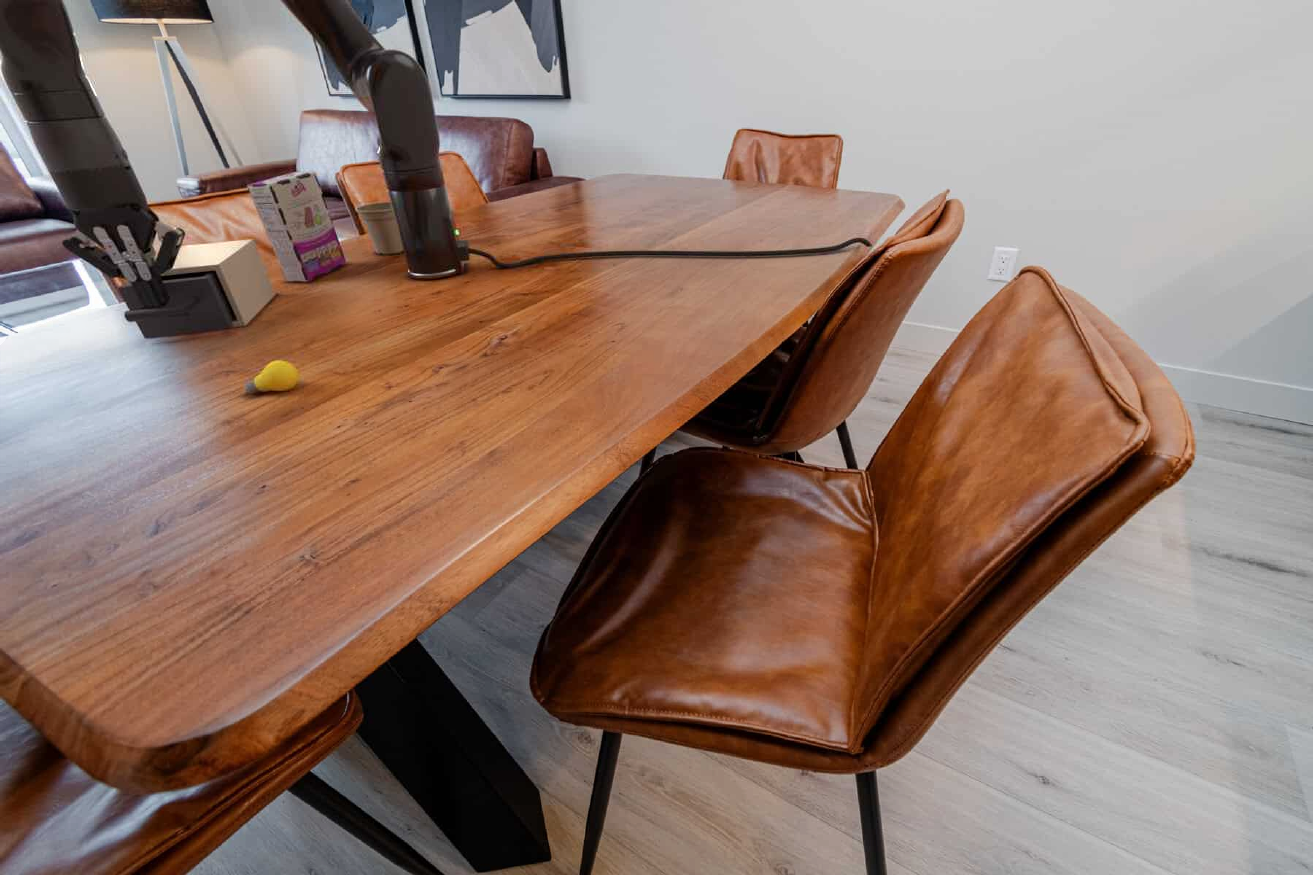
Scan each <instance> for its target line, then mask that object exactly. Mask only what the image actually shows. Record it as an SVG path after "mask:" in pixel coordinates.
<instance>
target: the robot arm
mask: <svg viewBox="0 0 1313 875" xmlns="http://www.w3.org/2000/svg"><path fill="white" fill-rule="evenodd" d="M279 1H280V2H281V3H282V4H283V6H284V7H285V8H286V9H287V10H288V11H289V12H290V13H291V14H292V16H293V17H294V18H295V19H296V20H297V21H298V22H299V23H300V24H301V26H303V27H304V29H306V31H307V32H308V34H310V35H311V37H312V38H313V39H314V40H315V42H316V43H317V44H318V45H319V47H320V48H321V50H322V51H323V52H324V53H325V55H326V56H327V58H328V59H329V61H330V62H331V64H332V65H333V67H335V69H336V71H337V72H338V74H339V75H340V76H341V78H342V80H343V81H344V83H346V85H347V87H348V88H349V89H350V91H351V92H352V94H353V95H354V96H355V98H356V99H357V100H358V102H359V103H360V104H361V105H362V107H364V108H365V109H366V110H367V111H368V112H370V114H372V115H374V117H375V122H376V125H377V129H378V130H377V131H378V133H379V148H378V150H377V158H378V162H379V167H380V169H381V173H382V176H383V180H384V184H385V189H386V191H387V195H388V199H389V201H390V203H391V207H392V210H393V214H394V218H395V221H396V225H397V229H398V233H399V236H400V240H401V244H402V247H403V251H402V252H403V254H404V258H405V261H406V267H407V269H408V274H409V277H410V278H413V279H417V280H436V279H441V278H442V279H443V278H447V277H451V276H454V275H458V274H460V275H461V274H463V273H464V269H465V262H468V261H470V257H471V255H476V256H479V257H483V258H486V259H488V260H489V261H490V262H491V263H492V264H493V265H494V266H496V267H498V268H502V269H513V268H514V269H515V268H519V267H524V266H528V265H531V264H535V263H538V262H546V261H555V260H556V261H557V260H565V259H566V260H567V259H578V258H579V259H581V258H596V257H599V258H600V257H627V256H629V257H630V256H634V257H635V256H638V257H639V256H641V257H642V256H643V257H644V256H648V257H649V256H653V257H654V256H658V257H659V256H661V257H662V256H663V257H664V256H665V257H669V256H670V257H672V256H673V257H677V256H678V257H777V256H778V257H779V256H795V255H796V256H797V255H813V254H823V253H825V254H826V253H832V252H836V251H839V250H842V249H845V248H847V247H849V246H851V245H854V244H857V243H860V244H862V245H864V246H865V247H867V248H871V247H873V245H872V244H871V242H870V241H869V239H866V238H864V237H854V238H851V239H848V240H846V241H844V242H842V243H839V244H837V245H833V246H832V245H831V246H824V247H815V248H800V249H782V250H781V249H779V250H745V251H744V250H742V251H741V250H740V251H739V250H738V251H733V250H732V251H731V250H730V251H729V250H726V251H725V250H724V251H723V250H606V251H604V250H603V251H602V250H601V251H583V252H571V253H570V252H569V253H557V254H548V255H547V254H546V255H540V256H539V255H538V256H535V257H531V258H528V259H525V260H522V261H518V262H513V263H508V262H507V263H505V262H501V261H499V260H497V258H495V256H493V254H490V253H488V252H486V251H483V250H479V249H475V248H471V247H470V246H469V242H468V240H467V239H466V240H460V238H459V230H458V228H457V223H456V220H455V215H454V211H453V210H452V209H451V205H450V204H451V203H450V200H449V194H448V191H447V185H446V182H445V177H444V173H443V168H442V164H441V158H440V146H441V139H440V133H439V132H440V131H439V126H438V121H437V115H436V110H435V105H434V100H433V99H434V98H433V95H432V94H433V93H432V90H431V87H430V83H429V80H428V77H427V75H426V73H425V71H424V69H423V67H422V66H421V65H420V63H419V62H418V61H417V60H416V59H415V58H414V57H413V56H412V55H410V54H408V53H406V52H404V51H402V50H398V49H386V48H385V47H384V46H383V45H382V44H381V43H380V42H379V41H378V39H377V38H376V36H374V35H373V34H372V32H371V31H370V29H369V28H368V27H367V26H366V25H365V24H364V22H363V21H362V20H361V19H360V17H359V15H358V14H357V13H356V12H355V10H354V9H353V7H352V6H351V4H350V2H349V1H348V0H279ZM0 55H1V58H2V59H1V60H2V61H1V64H0V71H1V74H2V78H3V80H4V83H5V85H6V86H7V89H8V91H9V93H10V95H11V97H12V99H13V101H14V103H15V105H16V106H17V108H18V110H19V112H20V114H21V116H22V117H23V120H24V121H25V122H26V126H27V127H28V131H29V133H30V135H31V138H32V141H33V144H34V146H35V149H36V150H37V153H38V154H39V155H40V158H41V160H42V161H43V164H44V165H45V167H46V169H47V171H48V173H49V175H50V177H51V179H52V180H53V182H54V184H55V187H56V188H57V190H58V192H59V194H60V196H61V197H62V200H63V202H64V204H65V205H66V208H68V209H70V211H71V212H72V214H73V225H74V227H75V229H76V230H75V231H74V232H73V234H72V235H71V237H68V238H66V239H63V240H62V243H61V244H62V246H63V248H64V249H66V250H67V251H69V252H71V253H72V254H73V255H76V256H77V257H78V258H80V259H82V260H83V261H85V262H86V263H88V264H89V265H90V266H92V267H94V268H95V269H97V270H98V271H100V272H101V273H103V274H104V275H106V276H108V277H109V278H112V279H116V278H117V279H118V278H119V279H123V280H124V279H126V280H128V281H129V282H130V283H131V284H132V286H133V288H134V290H135V292H136V294H137V296H138V298H139V300H140V302H141V303H142V304H143V305H146V306H147V307H148V309H150V308H159V307H165V306H166V305H168V301H169V300H170V296H169V294H168V292H167V290H166V288H165V285H164V283H163V281H162V279H161V274H163V273H165V272H166V271H167V270H170V269H172V268H173V266H174V263H175V260H176V258H177V255H178V252H179V250H180V247H181V246H182V245H183V241H184V239H185V236H186V232H185V230H184V229H183V228H181V227H175V228H174V227H172V226H170V225H168V224H166V223H164V222H162V221H161V220H160V218H159V216H158V215H157V214H156V212H154V211H153V209H151V207H150V206H149V204H148V201H147V200H148V199H147V197H146V194H145V192H144V191H143V188H142V186H141V184H140V182H139V179H138V177H137V175H136V173H135V170H134V169H133V166H132V164H131V162H130V160H129V155H128V153H127V151H126V150H125V149H124V147H123V144H122V142H121V141H120V139H119V136H118V135H117V133H116V131H115V130H114V128H113V127H112V125H111V123H110V122H109V120H108V118H107V117H106V114H105V111H104V109H103V107H102V105H101V103H100V100H99V99H98V97H97V94H96V92H95V90H94V87H93V86H92V84H91V81H90V80H89V78H88V77H87V74H86V72H85V69H84V65H83V62H82V57H81V52H80V48H79V45H78V42H77V39H76V34H75V31H74V28H73V24H72V21H71V18H70V15H69V12H68V10H67V6H66V4H65V2H64V0H0ZM156 236H157V239H158V241H159V242H160V243H161V244H160V246H159V249H158V252H157V253H156V251H155V247H154V243H155V240H156ZM100 247H101V248H100ZM157 254H158V255H157ZM156 255H157V258H155V256H156Z"/></svg>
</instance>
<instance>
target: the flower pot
mask: <svg viewBox="0 0 1313 875" xmlns="http://www.w3.org/2000/svg"><path fill="white" fill-rule="evenodd" d="M354 210H355V212H356V213H358V215H359V218H360V219H361V220H362V221H363V224H364V226H365V228H366V231H367V233H368V236H369V237H370V240H371V243H372V244H373V247H374V249H375V252H376V253H377V254H378V255H380V254H383V255H395V254H400V253H402V252H404V251H403V247H402V244H401V240H400V236H399V233H398V229H397V225H396V221H395V218H394V214H393V210H392V207H391V203H390V200H389V201H379V202H372V203H367V204H363V205H360V206H357V207H355V209H354Z"/></svg>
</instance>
